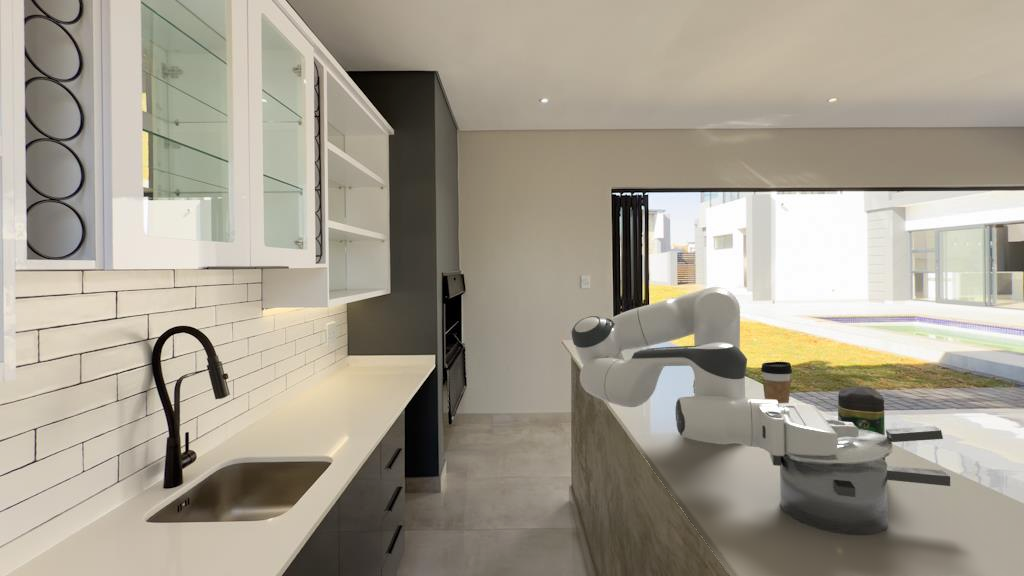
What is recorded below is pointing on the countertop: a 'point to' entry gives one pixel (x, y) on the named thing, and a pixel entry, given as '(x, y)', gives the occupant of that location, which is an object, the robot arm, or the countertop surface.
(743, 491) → the countertop surface
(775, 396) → the coffee cup
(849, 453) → the lid
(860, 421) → the coffee jar
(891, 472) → the pot
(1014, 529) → the countertop surface
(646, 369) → the robot arm
